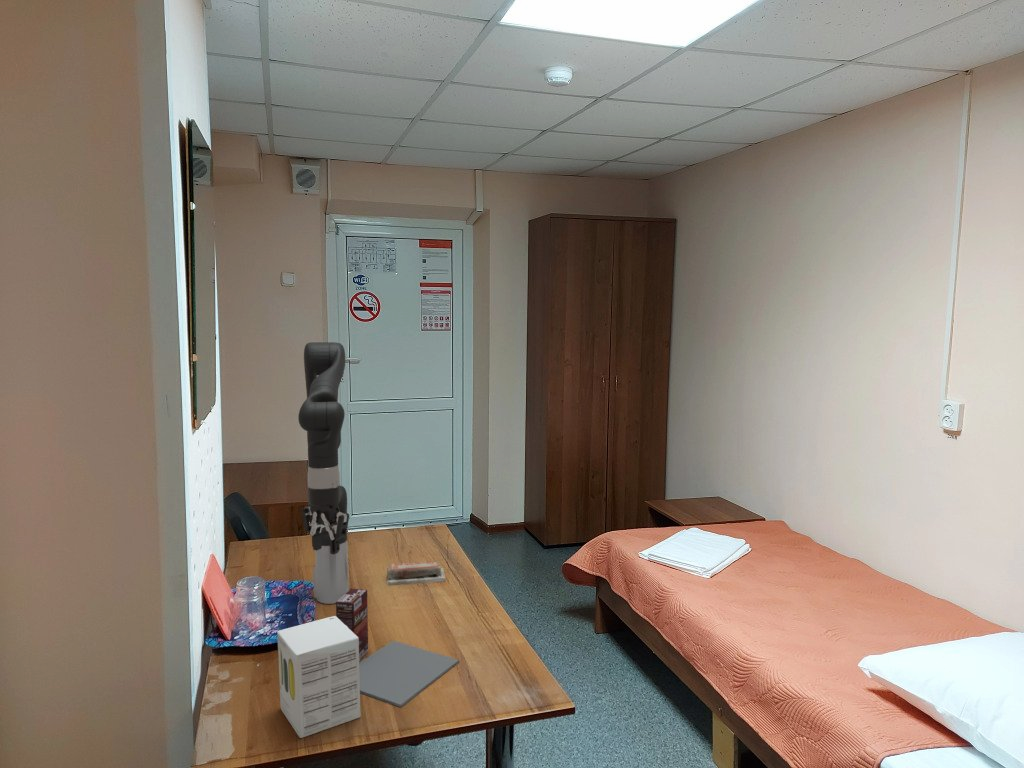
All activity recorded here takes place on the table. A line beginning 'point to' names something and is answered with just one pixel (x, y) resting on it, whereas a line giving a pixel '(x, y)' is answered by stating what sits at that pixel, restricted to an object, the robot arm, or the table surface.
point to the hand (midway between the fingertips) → (326, 551)
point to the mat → (401, 672)
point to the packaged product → (414, 573)
